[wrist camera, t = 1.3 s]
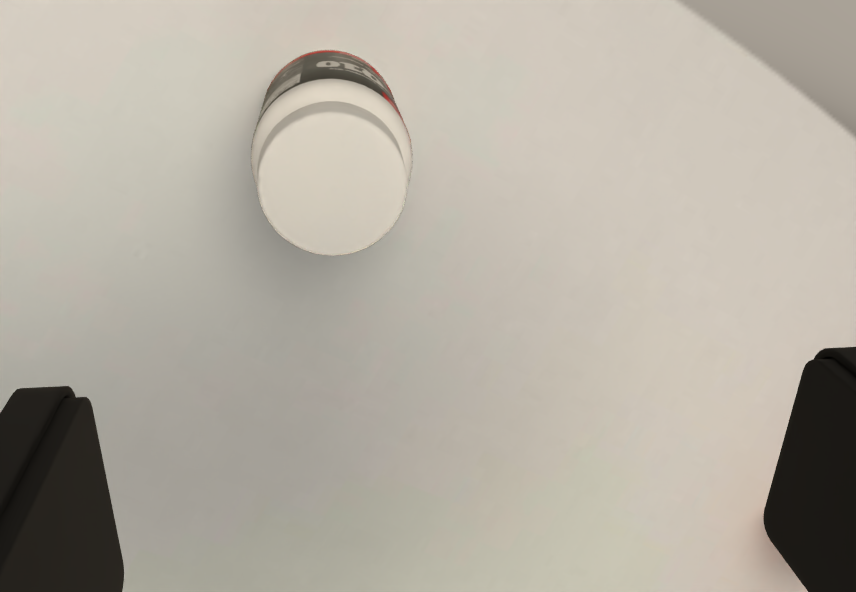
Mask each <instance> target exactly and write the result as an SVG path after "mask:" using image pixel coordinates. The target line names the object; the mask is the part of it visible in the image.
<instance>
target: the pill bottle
mask: <svg viewBox="0 0 856 592" xmlns="http://www.w3.org/2000/svg"><path fill="white" fill-rule="evenodd" d="M251 166H252V172H253V177H254V180H255V183H256V186H257V191H258V197H259V201H260V204H261V207H262V210H263V212H264V214H265V216H266V218H267V219H268V221H269V223H270V224H271V225H272V227H273V228H274V229H275V230H276V231H277V232H278V233H279V234H280V235H281V236H282V237H283V238H284V239H286V240H287V241H288V242H290V243H291V244H293V245H295V246H296V247H298V248H300V249H303V250H305V251H308V252H311V253H315V254H321V255H331V256H336V255H345V254H351V253H354V252H358V251H360V250H363V249H365V248H367V247H369V246H371V245H372V244H374V243H376V242H377V241H378V240H380V239H381V238H382V237H383V236H384V235H385V234H386V233H387V232H388V231H389V230H390V229H391V228H392V227H393V225H394V224H395V223H396V221H397V219H398V218H399V216H400V214H401V211H402V209H403V206H404V203H405V199H406V193H407V186H408V183H409V180H410V176H411V170H412V148H411V140H410V137H409V133H408V131H407V128H406V126H405V124H404V121H403V119H402V117H401V115H400V112H399V110H398V108H397V105H396V103H395V101H394V98H393V95H392V93H391V90H390V88H389V87H388V85H387V84H386V82H385V81H384V79H383V78H382V76H381V75H380V74H379V73H378V72H377V71H376V70H375V69H374V68H373V67H372V66H371V65H370V64H368V63H367V62H365V61H364V60H362V59H361V58H359V57H357V56H354V55H352V54H349V53H346V52H341V51H335V50H320V51H314V52H310V53H307V54H304V55H302V56H300V57H298V58H296V59H295V60H293V61H291V62H290V63H289V64H287V65H286V66H285V67H284V68H283V69H282V70H281V71H280V72H279V73H278V74H277V75H276V76H275V78H274V79H273V81H272V82H271V84H270V86H269V88H268V90H267V93H266V96H265V99H264V103H263V106H262V110H261V113H260V116H259V120H258V123H257V126H256V129H255V132H254V136H253V141H252V147H251Z"/></svg>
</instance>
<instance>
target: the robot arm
mask: <svg viewBox="0 0 856 592" xmlns="http://www.w3.org/2000/svg"><path fill="white" fill-rule="evenodd" d="M764 525H765V530H766V532H767V535H768V537H769V538H770V540H771V542H772V543H773V544H774V546H775V547H776V548H777V550H778V551H779V553H780V554H781V555H782V557H783V558H784V559H785V561H786V562H787V563H788V565H789V566H790V567H791V569H792V570H793V571H794V573H795V574H796V576H797V577H798V578H799V580H800V581H801V582H802V584H803V585H804V586H805V588H806V589H807V590H808V592H856V347H846V348H826V349H823V350H821V351H819V353H818V354H817V355H816V356H815V358H814V360H811V361H809V362H808V363H807V364H806V365H805V367H804V370H803V373H802V376H801V380H800V384H799V387H798V391H797V394H796V398H795V402H794V405H793V409H792V412H791V416H790V420H789V423H788V427H787V430H786V434H785V438H784V441H783V445H782V448H781V452H780V456H779V459H778V463H777V466H776V470H775V474H774V477H773V481H772V484H771V488H770V492H769V495H768V499H767V502H766V506H765V510H764ZM123 581H124V566H123V559H122V554H121V549H120V544H119V539H118V534H117V529H116V524H115V519H114V514H113V509H112V504H111V499H110V494H109V489H108V484H107V479H106V474H105V469H104V464H103V459H102V454H101V449H100V444H99V439H98V434H97V429H96V424H95V419H94V414H93V409H92V405H91V402H90V400H89V399H88V398H87V397H78V398H76V397H75V394H74V392H73V390H72V388H70V387H69V386H60V387H40V388H21V389H17V390H16V391H15V392H14V393H13V394H12V396H11V397H10V399H9V400H8V402H7V404H6V405H5V407H4V408H3V410H2V412H1V413H0V592H122V589H123Z"/></svg>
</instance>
